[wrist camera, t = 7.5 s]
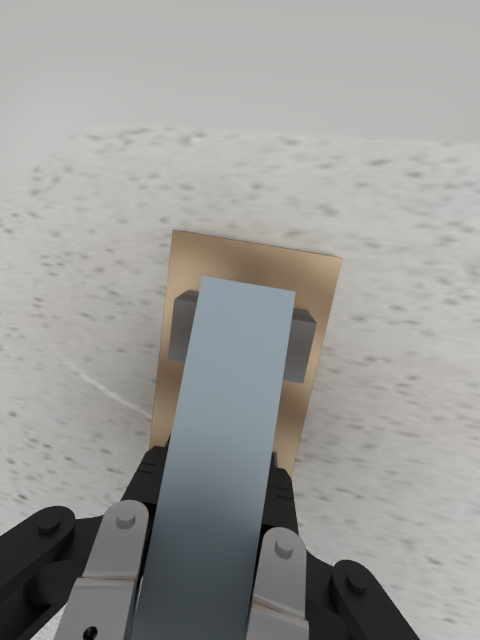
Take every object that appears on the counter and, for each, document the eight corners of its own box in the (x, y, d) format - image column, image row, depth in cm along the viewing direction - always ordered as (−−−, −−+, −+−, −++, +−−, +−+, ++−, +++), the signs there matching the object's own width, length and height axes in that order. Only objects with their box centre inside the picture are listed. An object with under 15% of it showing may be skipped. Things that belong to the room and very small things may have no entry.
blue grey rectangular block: (225, 619, 15) (215, 830, 8) (161, 607, 15) (97, 806, 8) (272, 323, 17) (295, 291, 10) (216, 314, 17) (202, 275, 10)
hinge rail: (276, 515, 23) (280, 580, 18) (150, 492, 23) (124, 551, 19) (335, 257, 18) (359, 261, 14) (179, 230, 19) (154, 227, 14)
